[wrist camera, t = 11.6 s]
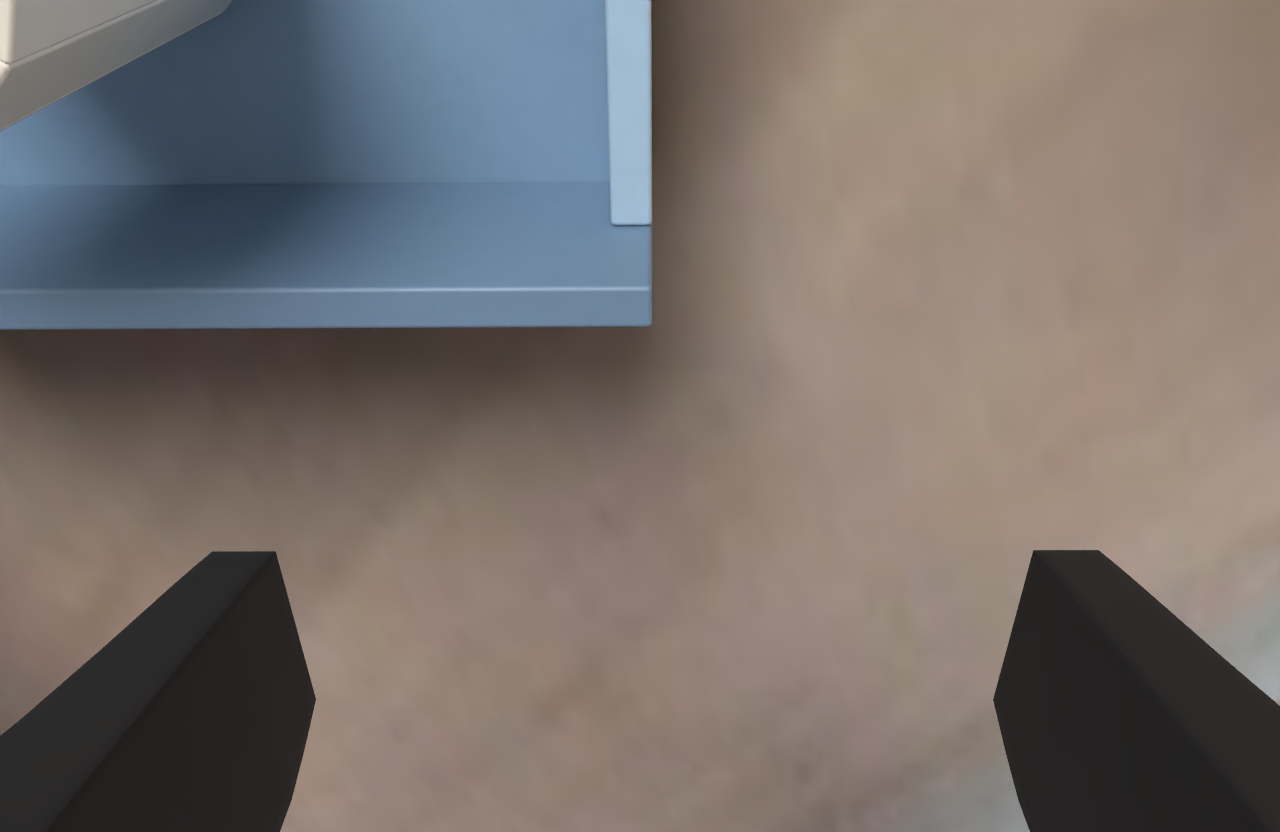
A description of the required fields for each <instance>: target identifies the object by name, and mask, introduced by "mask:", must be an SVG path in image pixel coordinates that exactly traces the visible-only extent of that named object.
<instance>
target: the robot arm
mask: <svg viewBox="0 0 1280 832" xmlns="http://www.w3.org/2000/svg"><path fill="white" fill-rule="evenodd" d="M315 701H316V698H315V694H314V691H313V687H312V683H311V680H310V676H309V672H308V669H307V665H306V661H305V658H304V654H303V650H302V647H301V643H300V639H299V636H298V632H297V628H296V625H295V621H294V617H293V614H292V610H291V607H290V603H289V599H288V596H287V592H286V588H285V585H284V581H283V577H282V574H281V570H280V566H279V563H278V559H277V555H276V552H211V553H210V554H209V555H208V556H207V557H205V558H204V559H203V560H202V561H201V562H199V563H198V564H197V565H196V566H195V567H193V568H192V569H191V570H190V571H189V572H188V573H186V574H185V575H184V576H183V577H182V578H181V579H180V580H178V581H177V582H176V583H175V584H174V585H173V586H172V587H171V588H169V589H168V590H167V591H166V592H165V593H164V594H163V595H162V596H160V597H159V598H158V599H157V600H156V601H155V602H154V603H153V604H152V605H150V606H149V607H148V608H147V609H146V610H145V611H144V612H143V613H141V614H140V615H139V616H138V617H137V618H136V619H135V620H134V621H133V622H131V623H130V624H129V625H128V626H127V627H126V628H125V629H124V630H122V631H121V632H120V633H119V634H118V635H117V636H116V637H115V638H114V639H112V640H111V641H110V642H109V643H108V644H107V645H106V646H105V647H103V648H102V649H101V650H100V651H99V652H98V653H97V654H95V655H94V656H93V657H92V658H91V659H90V660H88V661H87V662H86V663H85V664H84V665H83V666H82V667H80V668H79V669H78V670H77V671H76V672H75V673H74V674H72V675H71V676H70V677H69V678H68V679H67V680H66V681H64V682H63V683H62V684H61V685H60V686H59V687H58V688H56V689H55V690H54V691H53V692H52V693H51V694H49V695H48V696H47V697H46V698H45V699H44V700H43V701H41V702H40V703H39V704H38V705H37V706H36V707H35V708H33V709H32V710H31V711H30V712H29V713H28V714H26V715H25V716H24V717H23V718H22V719H21V720H19V721H18V722H17V723H16V724H14V725H13V726H12V727H11V728H10V729H8V730H7V731H6V732H5V733H3V734H2V735H1V736H0V832H280V830H281V827H282V824H283V822H284V819H285V816H286V813H287V811H288V808H289V805H290V802H291V800H292V796H293V792H294V788H295V784H296V780H297V776H298V773H299V769H300V765H301V761H302V757H303V753H304V749H305V744H306V740H307V736H308V731H309V727H310V723H311V718H312V714H313V710H314V705H315ZM993 701H994V705H995V709H996V713H997V717H998V722H999V726H1000V730H1001V734H1002V738H1003V742H1004V747H1005V751H1006V755H1007V759H1008V762H1009V766H1010V770H1011V774H1012V777H1013V781H1014V785H1015V789H1016V792H1017V796H1018V800H1019V803H1020V806H1021V808H1022V811H1023V814H1024V816H1025V819H1026V822H1027V824H1028V827H1029V830H1030V832H1280V706H1279V705H1278V704H1277V703H1276V702H1275V701H1273V700H1272V699H1271V698H1270V697H1269V696H1267V695H1266V694H1265V693H1264V692H1263V691H1261V690H1260V689H1259V688H1258V687H1257V686H1256V685H1254V684H1253V683H1252V682H1251V681H1250V680H1249V679H1247V678H1246V677H1245V676H1244V675H1243V674H1242V673H1240V672H1239V671H1238V670H1237V669H1236V668H1235V667H1233V666H1232V665H1231V664H1230V663H1229V662H1228V661H1226V660H1225V659H1224V658H1223V657H1222V656H1221V655H1219V654H1218V653H1217V652H1216V651H1215V650H1214V649H1213V648H1211V647H1210V646H1209V645H1208V644H1207V643H1206V642H1205V641H1203V640H1202V639H1201V638H1200V637H1199V636H1198V635H1197V634H1195V633H1194V632H1193V631H1192V630H1191V629H1190V628H1188V627H1187V626H1186V625H1185V624H1184V623H1183V622H1182V621H1180V620H1179V619H1178V618H1177V617H1176V616H1175V615H1174V614H1172V613H1171V612H1170V611H1169V610H1168V609H1167V608H1166V607H1165V606H1163V605H1162V604H1161V603H1160V602H1159V601H1158V600H1157V599H1155V598H1154V597H1153V596H1152V595H1151V594H1150V593H1148V592H1147V591H1146V590H1145V589H1144V588H1143V587H1142V586H1140V585H1139V584H1138V583H1137V582H1136V581H1135V580H1134V579H1132V578H1131V577H1130V576H1129V575H1128V574H1127V573H1125V572H1124V571H1123V570H1122V569H1121V568H1119V567H1118V566H1117V565H1116V564H1115V563H1113V562H1112V561H1111V560H1110V559H1109V558H1107V557H1106V556H1105V555H1104V554H1102V553H1101V552H1100V551H1099V550H1033V554H1032V558H1031V561H1030V565H1029V569H1028V572H1027V576H1026V580H1025V584H1024V587H1023V591H1022V595H1021V598H1020V602H1019V606H1018V610H1017V613H1016V617H1015V621H1014V624H1013V628H1012V632H1011V636H1010V639H1009V643H1008V647H1007V651H1006V654H1005V658H1004V662H1003V665H1002V669H1001V673H1000V677H999V680H998V684H997V688H996V691H995V695H994V699H993Z"/></svg>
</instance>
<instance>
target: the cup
mask: <svg viewBox="0 0 1280 832" xmlns="http://www.w3.org/2000/svg"><path fill="white" fill-rule="evenodd" d="M235 1H237V0H0V132H1V131H2V130H4V129H6V128H8V127H10V126H12V125H14V124H16V123H17V122H19V121H21V120H23V119H25V118H27V117H29V116H31V115H32V114H34V113H36V112H38V111H40V110H42V109H44V108H46V107H48V106H49V105H51V104H53V103H55V102H57V101H59V100H61V99H63V98H64V97H66V96H68V95H70V94H72V93H74V92H76V91H78V90H79V89H81V88H83V87H85V86H87V85H89V84H91V83H93V82H94V81H96V80H98V79H100V78H102V77H104V76H106V75H108V74H110V73H111V72H113V71H115V70H117V69H119V68H121V67H123V66H125V65H126V64H128V63H130V62H132V61H134V60H136V59H138V58H140V57H141V56H143V55H145V54H147V53H149V52H151V51H153V50H155V49H156V48H158V47H160V46H162V45H164V44H166V43H168V42H170V41H172V40H173V39H175V38H177V37H179V36H181V35H183V34H185V33H187V32H188V31H190V30H192V29H194V28H196V27H198V26H200V25H202V24H203V23H205V22H207V21H209V20H211V19H213V18H215V17H217V16H218V15H220V14H221V13H222V12H223V11H225V10H226V9H227V8H228V7H230V6H231V5H232V4H233V3H234V2H235Z"/></svg>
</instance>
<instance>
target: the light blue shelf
mask: <svg viewBox="0 0 1280 832" xmlns="http://www.w3.org/2000/svg"><path fill="white" fill-rule="evenodd" d="M651 323H652V22H651V0H237V1H235V2H234V3H233V4H232V5H231V6H230V7H228V8H227V9H226V10H225V11H223V12H222V13H221V14H220V15H218V16H217V17H215V18H213V19H211V20H209V21H207V22H205V23H203V24H202V25H200V26H198V27H196V28H194V29H192V30H190V31H188V32H187V33H185V34H183V35H181V36H179V37H177V38H175V39H173V40H172V41H170V42H168V43H166V44H164V45H162V46H160V47H158V48H156V49H155V50H153V51H151V52H149V53H147V54H145V55H143V56H141V57H140V58H138V59H136V60H134V61H132V62H130V63H128V64H126V65H125V66H123V67H121V68H119V69H117V70H115V71H113V72H111V73H110V74H108V75H106V76H104V77H102V78H100V79H98V80H96V81H94V82H93V83H91V84H89V85H87V86H85V87H83V88H81V89H79V90H78V91H76V92H74V93H72V94H70V95H68V96H66V97H64V98H63V99H61V100H59V101H57V102H55V103H53V104H51V105H49V106H48V107H46V108H44V109H42V110H40V111H38V112H36V113H34V114H32V115H31V116H29V117H27V118H25V119H23V120H21V121H19V122H17V123H16V124H14V125H12V126H10V127H8V128H6V129H4V130H2V131H1V132H0V330H7V329H237V328H467V327H647V326H650V325H651Z"/></svg>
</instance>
